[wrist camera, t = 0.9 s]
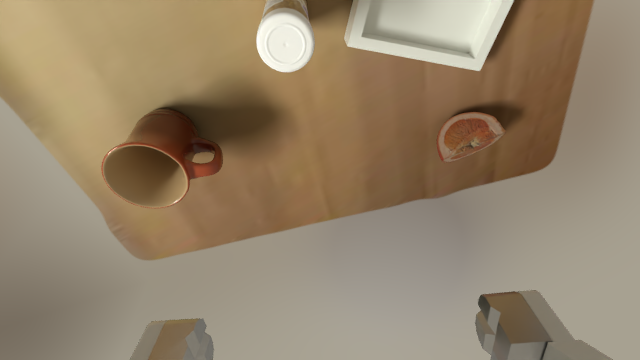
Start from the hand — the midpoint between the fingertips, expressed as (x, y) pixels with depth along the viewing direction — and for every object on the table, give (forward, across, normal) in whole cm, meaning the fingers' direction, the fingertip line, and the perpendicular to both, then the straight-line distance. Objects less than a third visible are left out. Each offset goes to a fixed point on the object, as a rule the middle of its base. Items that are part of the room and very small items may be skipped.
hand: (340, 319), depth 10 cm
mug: (+36, +19, +6) cm, 41 cm away
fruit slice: (+39, -18, +11) cm, 44 cm away
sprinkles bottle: (+35, +3, -7) cm, 36 cm away
